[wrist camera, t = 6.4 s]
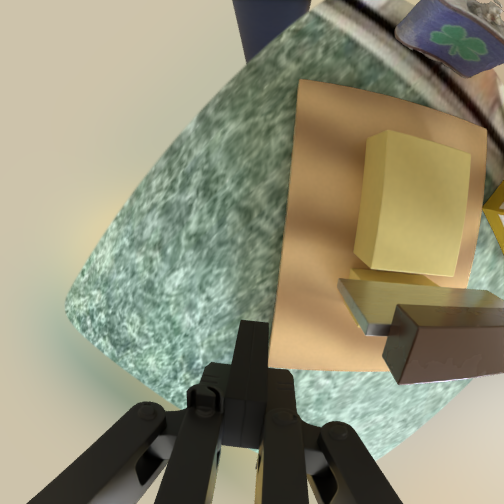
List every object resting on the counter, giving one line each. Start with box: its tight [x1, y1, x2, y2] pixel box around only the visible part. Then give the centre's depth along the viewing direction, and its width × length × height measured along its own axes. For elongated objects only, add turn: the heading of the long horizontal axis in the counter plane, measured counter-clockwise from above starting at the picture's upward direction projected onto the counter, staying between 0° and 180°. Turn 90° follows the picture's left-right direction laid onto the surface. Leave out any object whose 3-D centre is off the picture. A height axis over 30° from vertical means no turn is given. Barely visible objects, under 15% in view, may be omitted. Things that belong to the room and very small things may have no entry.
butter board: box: [268, 79, 487, 372], centre depth 23 cm, size 24×18×2 cm
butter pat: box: [344, 268, 440, 327], centre depth 21 cm, size 3×7×4 cm, turn 84°
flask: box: [394, 0, 504, 78], centre depth 14 cm, size 9×3×11 cm, turn 75°
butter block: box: [353, 130, 471, 277], centre depth 20 cm, size 9×7×4 cm
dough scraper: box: [337, 278, 504, 385], centre depth 13 cm, size 2×12×8 cm, turn 85°
